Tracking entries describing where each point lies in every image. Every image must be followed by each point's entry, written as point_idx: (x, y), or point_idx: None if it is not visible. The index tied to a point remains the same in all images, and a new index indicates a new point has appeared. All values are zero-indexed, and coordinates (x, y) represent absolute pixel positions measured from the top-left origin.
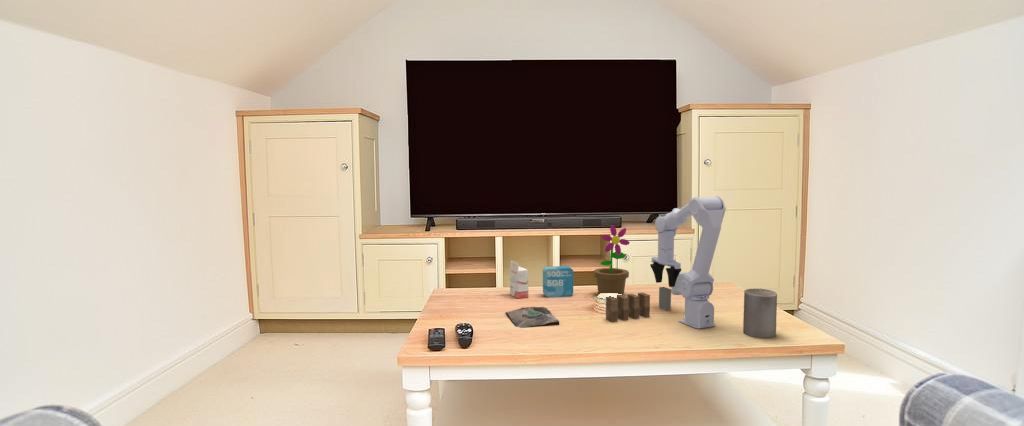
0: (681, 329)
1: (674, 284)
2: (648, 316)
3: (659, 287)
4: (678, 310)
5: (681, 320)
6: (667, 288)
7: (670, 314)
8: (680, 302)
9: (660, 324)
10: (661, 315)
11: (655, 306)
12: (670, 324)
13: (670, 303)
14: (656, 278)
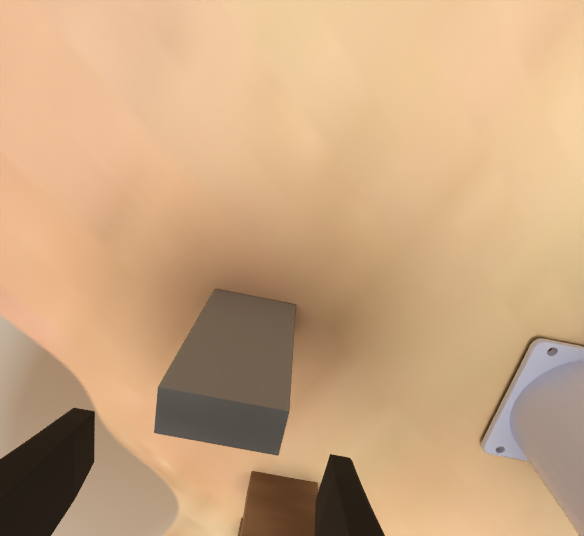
0: (554, 515)
1: (357, 488)
2: (316, 492)
3: (158, 432)
4: (330, 266)
5: (498, 446)
6: (241, 412)
7: (357, 374)
8: (173, 49)
9: (434, 525)
10: (336, 423)
11: (168, 309)
12: (470, 497)
13: (293, 331)
14: (58, 523)
